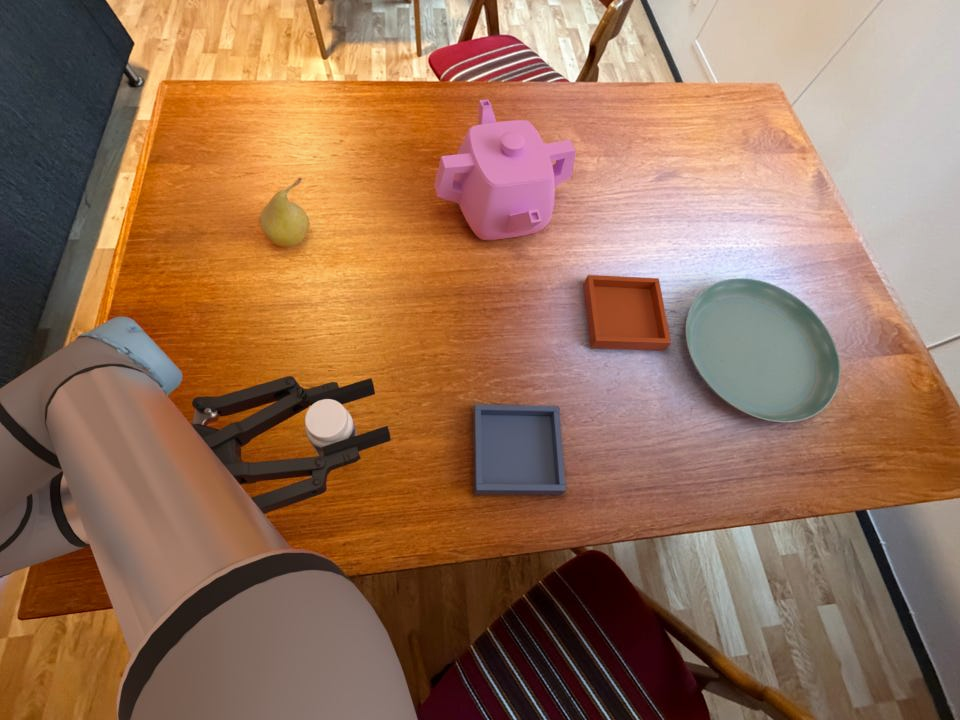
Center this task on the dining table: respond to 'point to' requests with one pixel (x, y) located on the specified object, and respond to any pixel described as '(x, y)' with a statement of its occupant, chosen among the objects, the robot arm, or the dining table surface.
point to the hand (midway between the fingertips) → (380, 409)
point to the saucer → (762, 350)
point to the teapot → (504, 176)
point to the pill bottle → (328, 424)
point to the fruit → (284, 220)
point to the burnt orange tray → (626, 313)
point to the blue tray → (518, 450)
